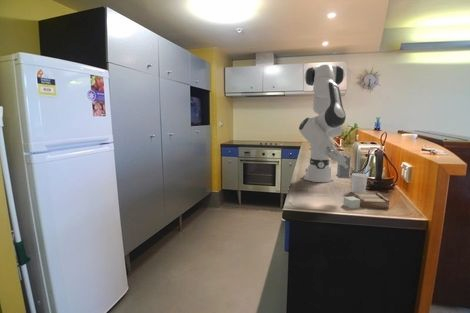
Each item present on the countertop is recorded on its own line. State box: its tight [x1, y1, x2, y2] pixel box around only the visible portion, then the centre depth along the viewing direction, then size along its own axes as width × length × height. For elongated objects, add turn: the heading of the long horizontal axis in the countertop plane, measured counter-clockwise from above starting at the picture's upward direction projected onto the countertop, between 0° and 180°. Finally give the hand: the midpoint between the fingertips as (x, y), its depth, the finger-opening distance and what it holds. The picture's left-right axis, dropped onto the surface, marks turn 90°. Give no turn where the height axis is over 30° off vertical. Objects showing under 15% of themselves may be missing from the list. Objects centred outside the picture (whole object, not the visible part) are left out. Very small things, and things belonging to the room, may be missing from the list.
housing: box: [335, 154, 351, 180], centre depth 129 cm, size 5×5×11 cm
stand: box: [352, 192, 390, 209], centre depth 127 cm, size 12×12×4 cm
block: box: [343, 196, 361, 209], centre depth 123 cm, size 5×5×4 cm
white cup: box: [350, 172, 368, 194], centre depth 145 cm, size 8×8×10 cm
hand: (345, 166), depth 129 cm, fingers closed on housing, 4 cm apart
